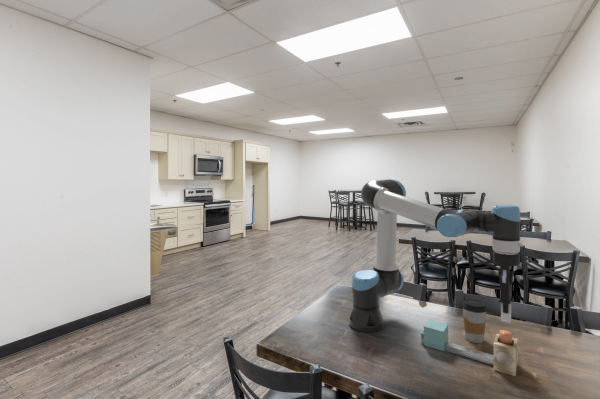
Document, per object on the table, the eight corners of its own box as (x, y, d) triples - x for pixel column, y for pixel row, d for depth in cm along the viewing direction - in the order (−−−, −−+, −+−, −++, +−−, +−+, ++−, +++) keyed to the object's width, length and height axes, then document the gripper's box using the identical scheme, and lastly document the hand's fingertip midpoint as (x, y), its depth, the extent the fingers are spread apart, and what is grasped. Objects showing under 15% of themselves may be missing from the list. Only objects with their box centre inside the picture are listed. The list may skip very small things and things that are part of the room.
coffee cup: (490, 345, 114) (490, 307, 114) (466, 344, 116) (466, 306, 115) (481, 334, 123) (481, 298, 122) (459, 333, 124) (459, 298, 123)
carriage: (424, 345, 116) (423, 326, 115) (429, 337, 121) (429, 319, 120) (443, 351, 111) (443, 331, 111) (448, 343, 116) (448, 324, 116)
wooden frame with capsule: (493, 370, 100) (493, 344, 100) (496, 358, 107) (496, 333, 106) (515, 377, 97) (515, 350, 96) (517, 364, 103) (517, 338, 102)
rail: (421, 342, 118) (421, 333, 118) (423, 339, 121) (423, 330, 120) (499, 367, 102) (499, 355, 101) (500, 363, 104) (500, 351, 104)
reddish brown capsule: (498, 341, 101) (498, 333, 101) (500, 337, 104) (500, 328, 104) (511, 345, 99) (511, 336, 98) (512, 340, 101) (512, 331, 101)
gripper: (518, 257, 92) (518, 332, 93) (521, 249, 102) (521, 316, 103) (489, 254, 97) (489, 325, 98) (495, 246, 107) (495, 311, 108)
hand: (506, 321), depth 101 cm, fingers closed
